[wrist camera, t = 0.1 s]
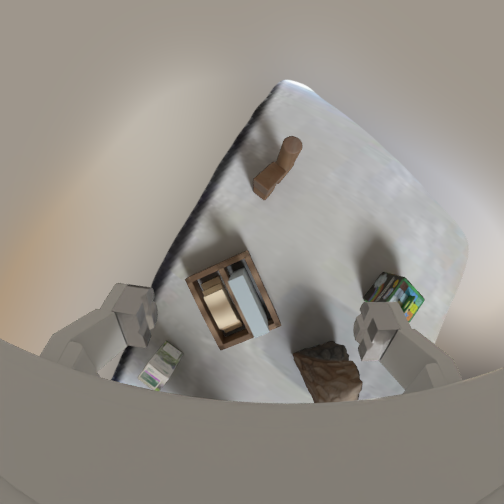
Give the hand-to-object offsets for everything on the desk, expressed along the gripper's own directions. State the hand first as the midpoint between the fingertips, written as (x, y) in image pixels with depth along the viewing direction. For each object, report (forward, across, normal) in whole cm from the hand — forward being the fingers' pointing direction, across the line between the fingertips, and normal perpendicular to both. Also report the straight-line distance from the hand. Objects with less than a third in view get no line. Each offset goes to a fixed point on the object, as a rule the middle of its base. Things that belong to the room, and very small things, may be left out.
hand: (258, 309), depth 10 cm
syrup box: (+34, -20, -51) cm, 65 cm away
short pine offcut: (+38, -6, -36) cm, 52 cm away
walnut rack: (+42, -3, -36) cm, 56 cm away
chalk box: (+43, +35, -34) cm, 65 cm away
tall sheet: (+43, 0, -35) cm, 55 cm away
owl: (+35, +18, -50) cm, 64 cm away
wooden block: (+56, +4, -11) cm, 57 cm away
